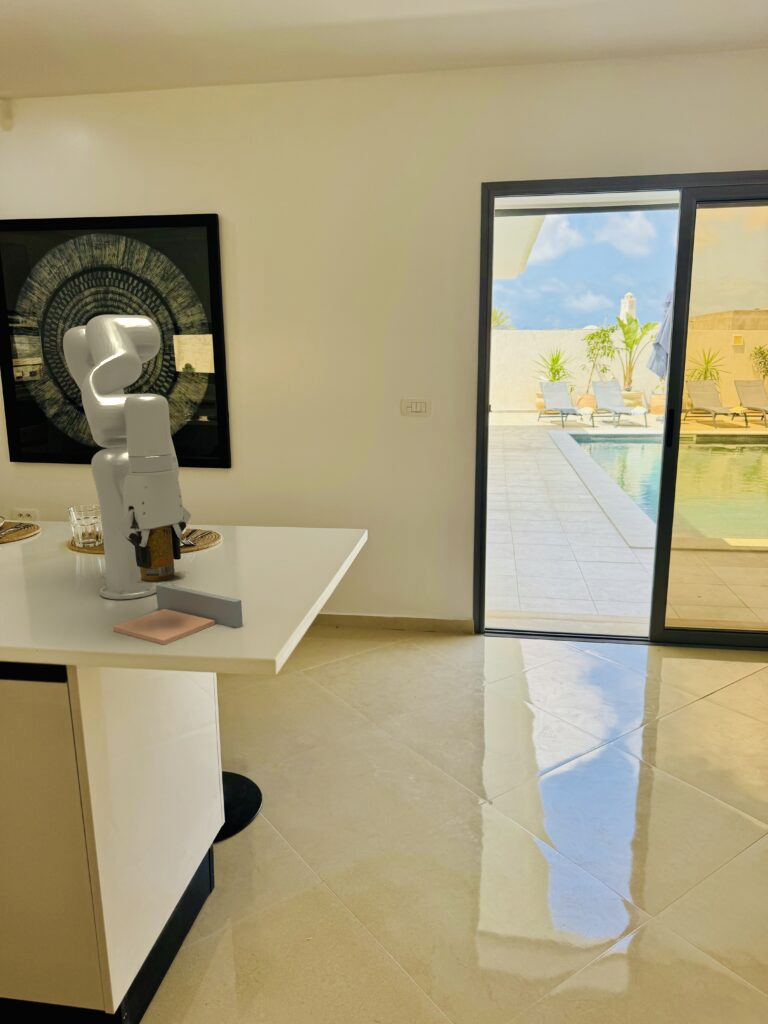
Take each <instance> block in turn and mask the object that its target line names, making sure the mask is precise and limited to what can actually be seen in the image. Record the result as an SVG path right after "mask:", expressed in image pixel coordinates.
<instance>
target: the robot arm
mask: <svg viewBox="0 0 768 1024" xmlns="http://www.w3.org/2000/svg"><path fill="white" fill-rule="evenodd" d="M62 347H63V348H62V349H63V353H64V359H65V362H66V365H67V368H68V370H69V373H70V375H71V376H72V379H74V381H75V383H76V384H77V386H78V388H79V390H80V392H81V402H82V407H83V409H84V414H85V416H86V420H87V423H88V425H89V428H90V433H91V435H92V439H93V441H94V442H95V444H97V445H98V446H100V447H102V448H104V449H101V450H99V451H98V452H96V453H95V454H94V455H93V456H92V459H91V463H90V464H91V472H92V477H93V481H94V485H95V489H96V492H97V498H98V503H99V504H98V505H99V510H100V511H99V512H100V521H101V522H100V523H101V530H102V532H101V533H102V539H103V540H102V541H103V550H104V551H103V552H104V560H105V570H104V571H103V572H100V574H99V578H100V579H103V580H105V585H103V586H102V587H101V588H100V590H99V591H100V596H102V597H103V598H105V599H109V600H131V599H138V598H139V599H140V598H143V597H147V596H151V595H153V594H157V592H156V585H158V584H162V582H157V583H135V582H136V581H137V580H138V579H139V578H140V577H141V574H140V567H143V568H150V567H151V557H150V547H149V546H146V544H147V540H148V536H149V531H150V530H153V529H157V528H159V527H162V526H169V527H170V528H171V532H172V545H173V556H174V558H173V559H174V560H177V561H179V560H181V558H182V554H181V553H182V552H181V550H182V549H181V540H180V539H181V538H182V537H183V532H184V530H185V529H186V528H187V524H188V522H189V521H190V520H191V517H192V514H191V513H190V512H189V511H188V510H187V509H186V508H185V507H184V506H183V499H182V491H181V486H180V481H179V474H180V468H179V462H178V458H177V455H176V450H175V446H174V442H173V439H172V435H171V434H172V433H171V422H170V410H169V403H168V399H167V398H166V397H165V396H162V395H160V394H157V393H125V390H124V389H125V388H127V387H129V386H131V385H133V384H134V383H135V382H136V381H138V379H139V378H140V376H141V375H142V370H143V365H144V364H145V363H147V362H149V361H150V360H152V359H153V358H156V356H157V355H158V353H159V352H160V349H161V333H160V330H159V328H158V326H157V324H156V322H155V320H153V319H152V318H151V317H149V316H147V315H142V314H141V315H139V314H136V315H135V314H134V315H133V314H101V315H98V316H95V317H93V318H91V319H90V320H88V322H87V324H86V325H78V326H75V327H72V328H69V329H68V330H67V331H66V332H65V333H64V335H63V339H62ZM141 532H142V533H141ZM140 533H141V537H140Z"/></svg>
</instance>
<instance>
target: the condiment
mask: <svg viewBox="0 0 768 1024" xmlns="http://www.w3.org/2000/svg"><path fill="white" fill-rule="evenodd" d="M141 533H142V532H141ZM141 533H140V537H141ZM146 546H149V547H150V557H151V567H150V568H143V567H140V574H141V577H140V578H139V579H138V580H137V581H136V582H135V583H157V582H161V583H164V582H165V583H169V582H170V583H171V582H180V581H181V582H182V581H184V580H185V579H186V577H187V576H188V574H189V573H190V571H189V570H187V571H186V570H184V571H180V570H178V571H175V559H173V558H174V556H173V545H172V532H171V528H170V527H169V526H162V527H159V528H157V529H153V530H150V531H149V536H148V540H147V544H146Z"/></svg>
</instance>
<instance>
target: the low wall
mask: <svg viewBox="0 0 768 1024" xmlns="http://www.w3.org/2000/svg"><path fill="white" fill-rule="evenodd" d="M156 600H157V601H156V602H157V603H156V604H157V610H162V609H168V610H172V611H177V612H181V613H185V614H189V615H193V616H198V617H202V618H206V619H210V620H215V624H219V625H223V626H227V627H232V628H235V627H236V628H237V629H238V628H240V627H242V626H243V625H244V624H243V609H242V608H243V605H242V599H240V598H235V597H234V598H233V597H229V596H224V595H220V594H216V593H209V592H205V591H201V590H196V589H192V588H191V589H190V588H186V587H181V586H176V585H171V584H166V583H161V584H158V585H156Z"/></svg>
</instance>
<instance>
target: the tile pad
mask: <svg viewBox="0 0 768 1024" xmlns="http://www.w3.org/2000/svg"><path fill="white" fill-rule="evenodd" d="M214 625H216V623H215V620H210V619H206V618H202V617H198V616H193V615H189V614H185V613H181V612H177V611H172V610H168V609H162V610H160V609H158V610H156V611H154V612H152V613H148V614H146V615H142V616H140V617H137V618H135V619H132V620H128V621H125V622H122V623H120V624H117V625H114V626H112V630H113V632H117V633H120V634H123V635H126V636H131V637H134V638H138V639H142V640H145V641H149V642H153V643H156V644H160V645H162V646H163V645H164V646H166V645H168V644H170V643H172V642H175V641H177V640H180V639H183V638H185V637H188V636H190V635H192V634H195V633H197V632H200V631H202V630H204V629H207V628H211V627H213V626H214Z"/></svg>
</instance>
